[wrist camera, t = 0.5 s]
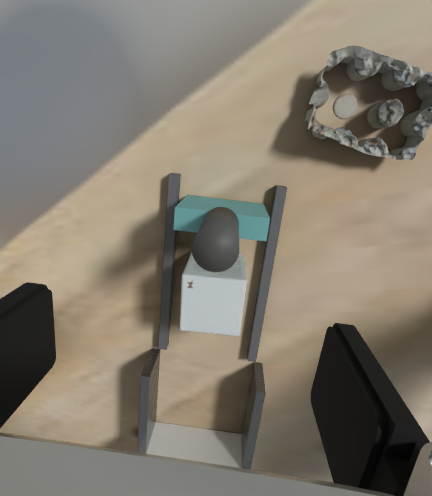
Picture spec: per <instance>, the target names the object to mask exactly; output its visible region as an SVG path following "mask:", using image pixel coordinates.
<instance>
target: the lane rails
mask: <svg viewBox="0 0 432 496" xmlns="http://www.w3.org/2000/svg"><path fill="white" fill-rule="evenodd" d="M180 176H181V174H176V173H170V174H169V179H168V195H167V212H166V229H165V245H164V262H163V279H162V295H161V312H160V329H159V345H158V349H165V350H166V349H167V346H168V343H169V329H170V315H171V301H172V287H173V273H174V259H175V246H176V232H177V230H174V215H175V207H176V206H177V205H178V204H179V190H180ZM286 191H287V187H285V186H277V185H276V187H275V193H274V199H273V205H272V211H271V217H270V222H269V228H268V234H267V240H266V246H265V252H264V258H263V264H262V270H261V276H260V282H259V288H258V294H257V300H256V306H255V312H254V318H253V324H252V330H251V336H250V342H249V348H248V354H247V356H248V361H254V362H256V358H257V353H258V347H259V342H260V336H261V331H262V325H263V319H264V314H265V308H266V303H267V297H268V291H269V286H270V280H271V275H272V269H273V264H274V258H275V252H276V247H277V241H278V236H279V230H280V225H281V219H282V213H283V208H284V202H285V197H286Z"/></svg>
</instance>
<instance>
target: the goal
mask: <svg viewBox="0 0 432 496" xmlns="http://www.w3.org/2000/svg"><path fill="white" fill-rule="evenodd" d="M159 361H160V349H154V348H152V351H151V353H150V355H149V358H148V360H147V362H146V365H145V367H144V369H143V372H142V374H141V383H140V408H139V433H138V453H145V454H152V455H158V456H165V457H172V458H178V459H185V460H192V461H198V462H205V463H211V464H218V465H224V466H230V467H237V468H243V469H250V468H251V463H252V458H253V453H254V448H255V443H256V438H257V433H258V428H259V423H260V418H261V413H262V408H263V403H264V398H265V384H264V376H263V367H262V363H257V362H254V366H253V372H252V377H251V383H250V389H249V394H248V400H247V406H246V411H245V417H244V422H243V428H242V434H237V433H230V432H223V431H216V430H209V429H202V428H195V427H188V426H181V425H174V424H167V423H159V422H156V409H157V393H158V377H159Z"/></svg>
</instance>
